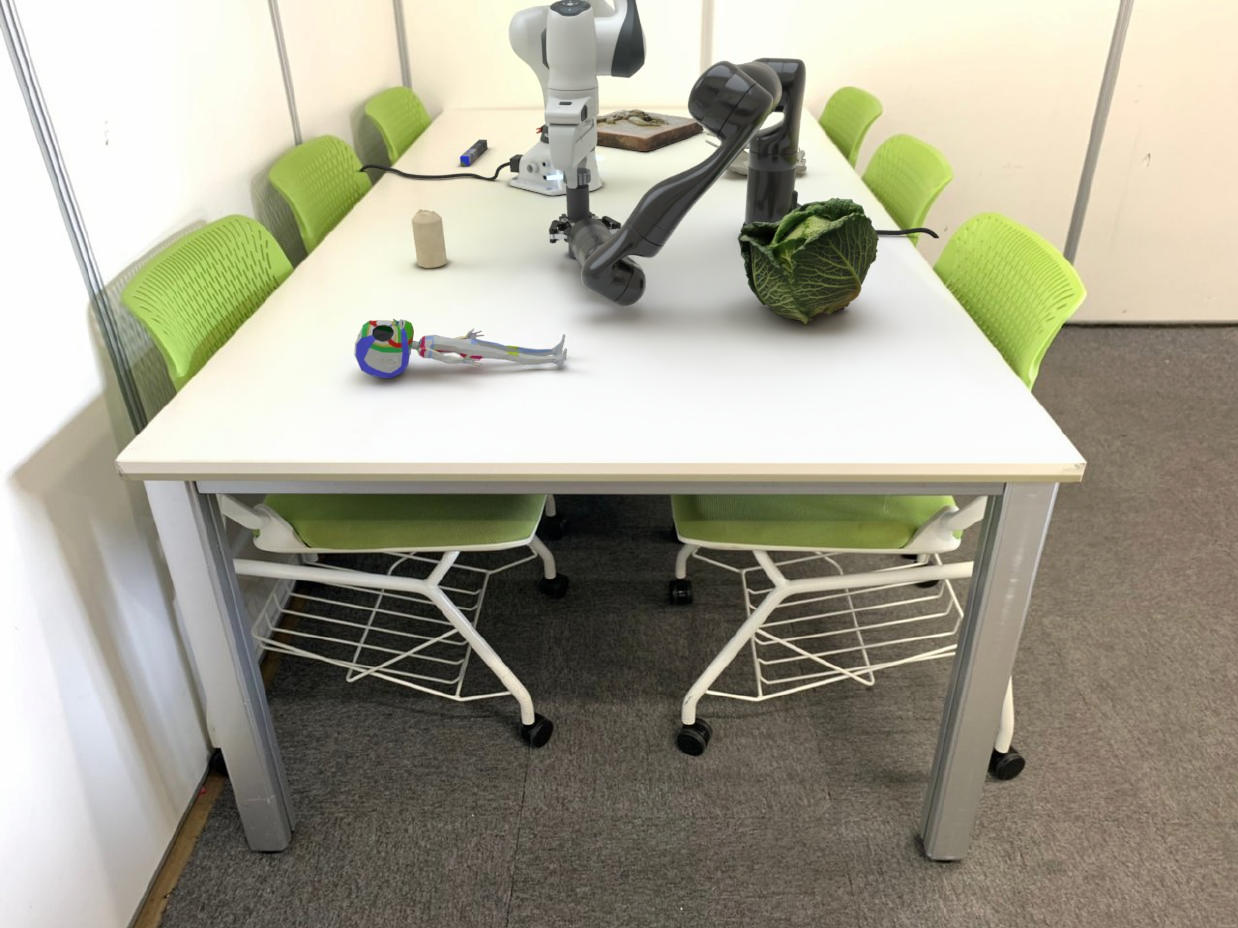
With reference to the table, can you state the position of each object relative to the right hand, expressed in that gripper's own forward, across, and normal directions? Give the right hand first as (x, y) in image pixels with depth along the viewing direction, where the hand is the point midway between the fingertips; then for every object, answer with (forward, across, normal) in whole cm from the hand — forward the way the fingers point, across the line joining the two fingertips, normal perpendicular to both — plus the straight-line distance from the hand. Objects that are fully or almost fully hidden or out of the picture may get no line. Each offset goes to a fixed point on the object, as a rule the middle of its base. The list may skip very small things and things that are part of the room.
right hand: (575, 217), depth 172 cm
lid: (-3, 0, -9) cm, 9 cm away
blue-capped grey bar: (+81, +13, +6) cm, 83 cm away
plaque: (+94, -34, +7) cm, 100 cm away
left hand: (-3, 0, -7) cm, 8 cm away
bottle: (-3, 0, +6) cm, 7 cm away
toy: (-47, +26, +6) cm, 54 cm away
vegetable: (-40, -30, +6) cm, 51 cm away
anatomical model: (+45, -53, +6) cm, 70 cm away
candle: (0, +28, +6) cm, 29 cm away
